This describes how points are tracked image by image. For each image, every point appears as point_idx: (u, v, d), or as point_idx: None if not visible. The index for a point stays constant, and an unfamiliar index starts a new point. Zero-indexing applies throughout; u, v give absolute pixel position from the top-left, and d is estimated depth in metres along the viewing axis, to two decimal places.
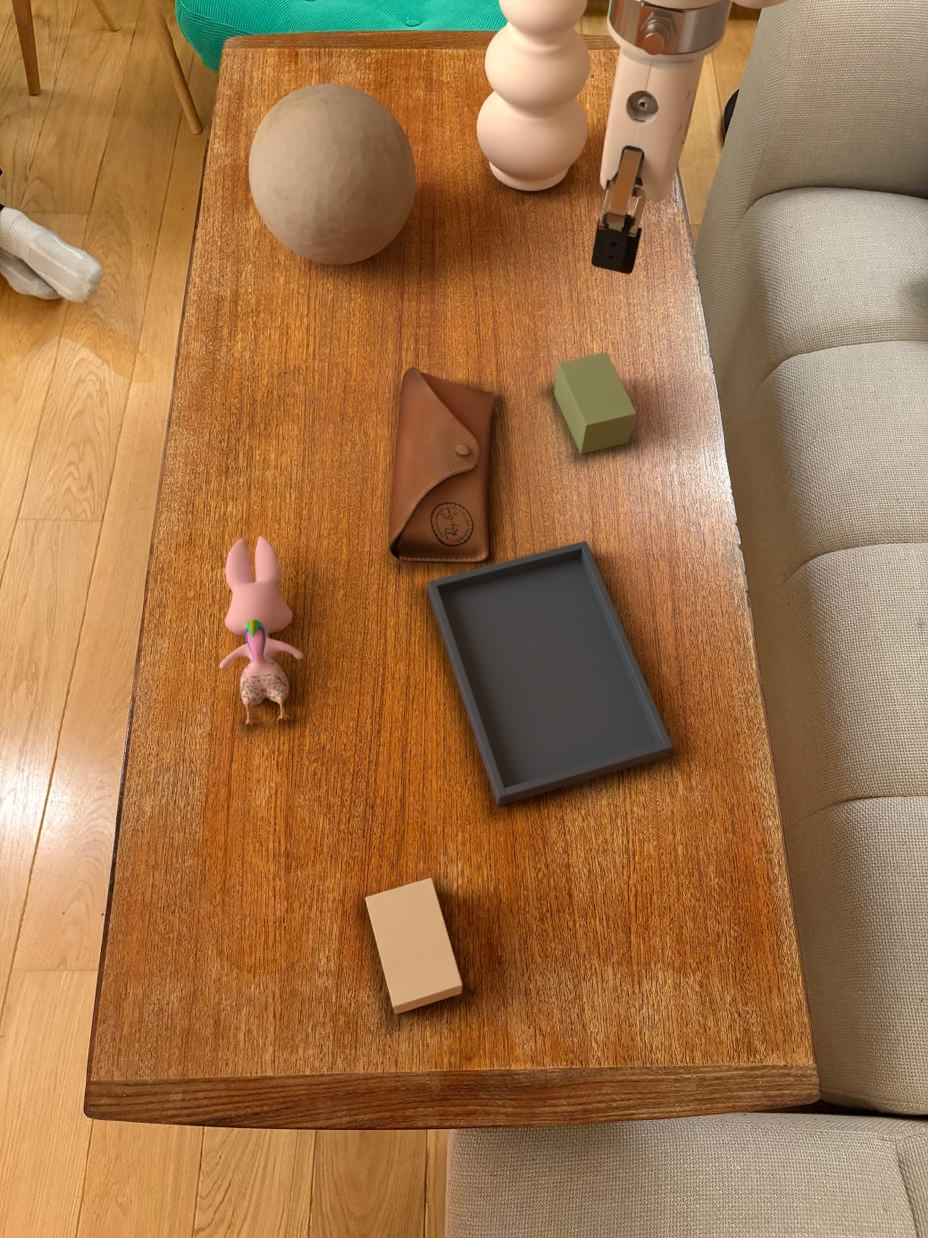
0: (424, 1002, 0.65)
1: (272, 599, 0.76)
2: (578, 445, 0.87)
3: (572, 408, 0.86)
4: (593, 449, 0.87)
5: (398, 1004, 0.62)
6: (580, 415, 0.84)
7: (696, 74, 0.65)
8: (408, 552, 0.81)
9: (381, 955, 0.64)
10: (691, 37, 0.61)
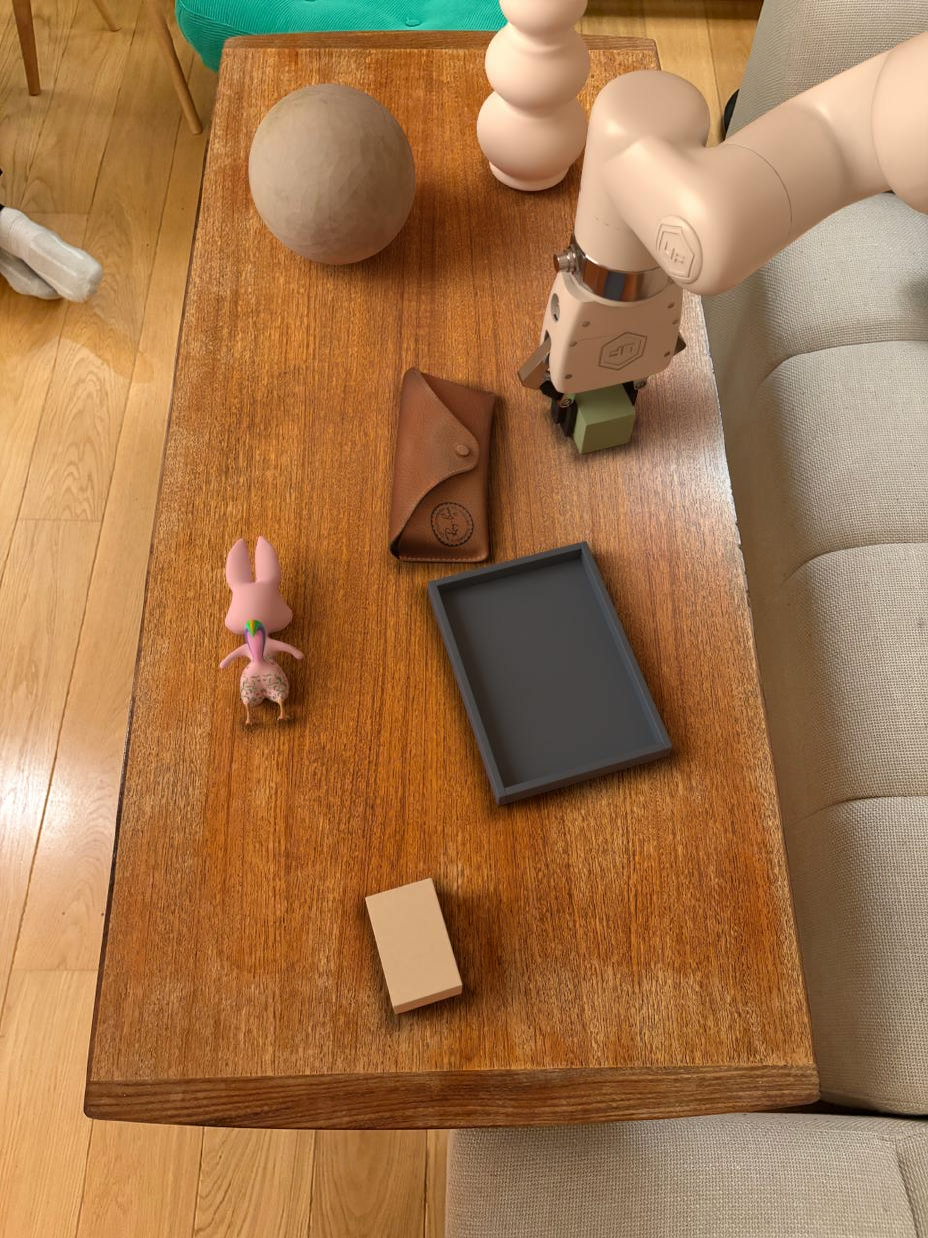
0: (424, 1002, 0.65)
1: (272, 599, 0.76)
2: (578, 445, 0.87)
3: None
4: (593, 449, 0.87)
5: (398, 1004, 0.62)
6: (580, 415, 0.84)
7: (607, 317, 0.74)
8: (408, 552, 0.81)
9: (381, 955, 0.64)
10: (591, 281, 0.71)
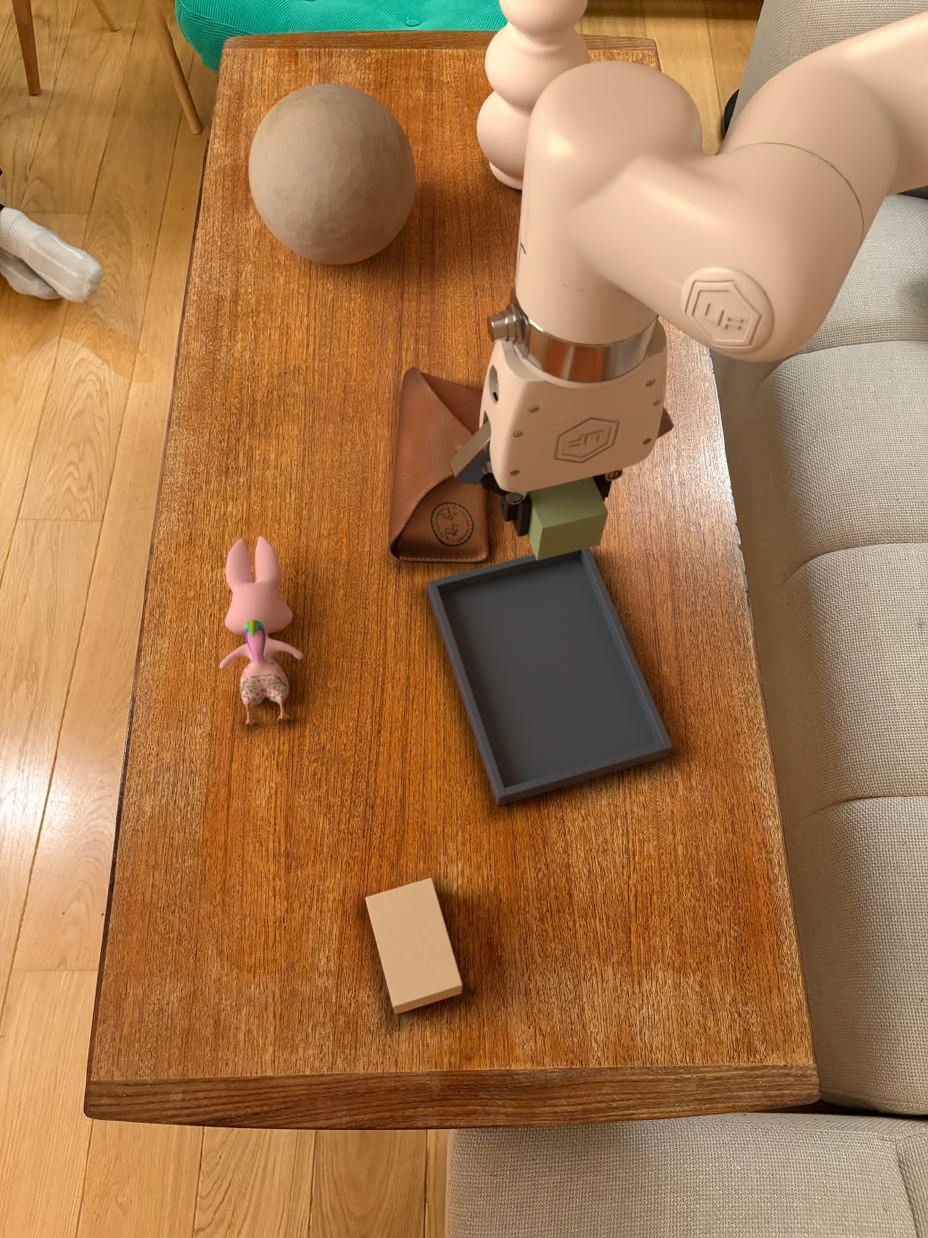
0: (424, 1002, 0.65)
1: (272, 599, 0.76)
2: (533, 549, 0.67)
3: None
4: (553, 554, 0.67)
5: (398, 1004, 0.62)
6: (535, 514, 0.64)
7: (563, 400, 0.54)
8: (408, 552, 0.81)
9: (381, 955, 0.64)
10: (539, 355, 0.51)
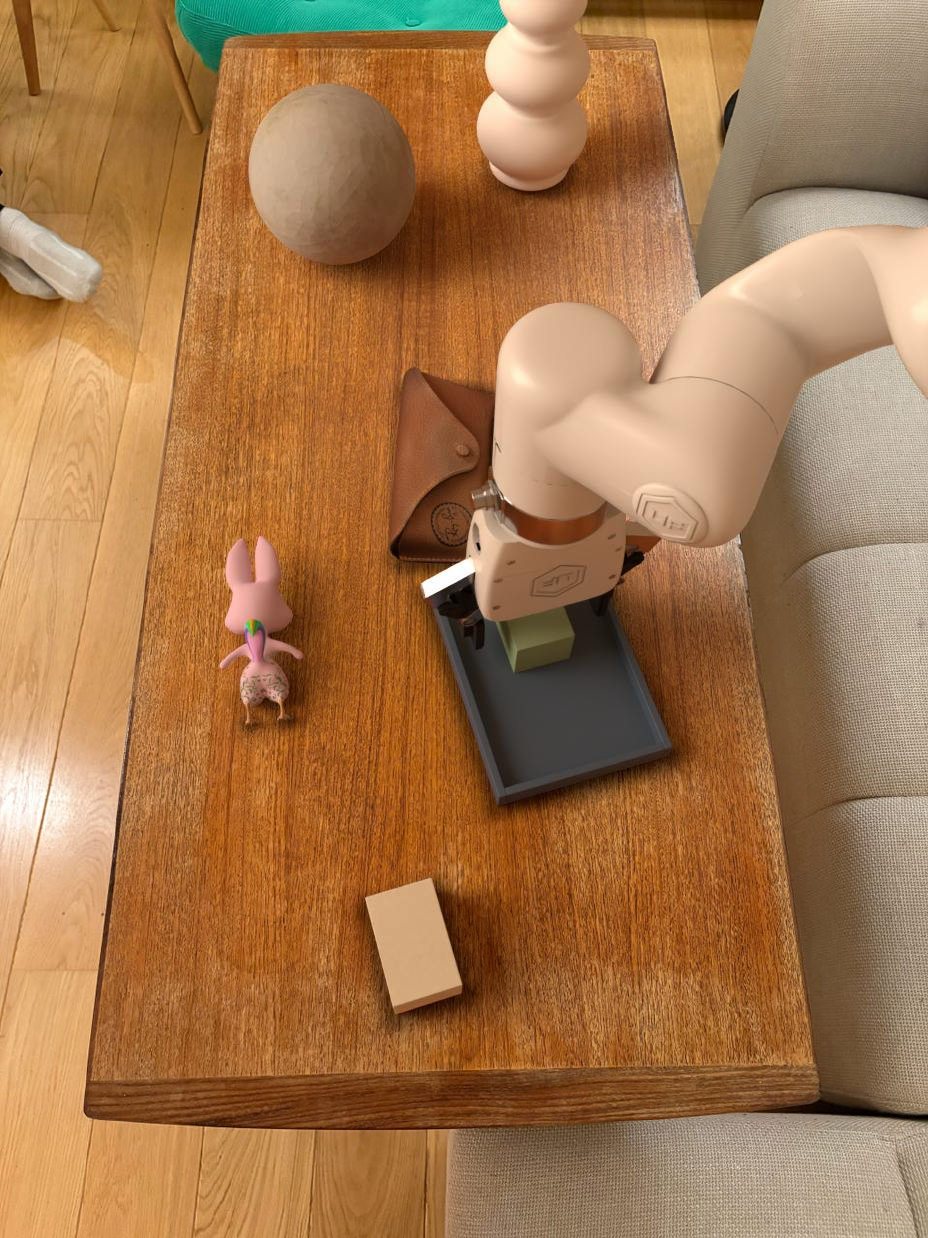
0: (424, 1002, 0.65)
1: (272, 599, 0.76)
2: (511, 663, 0.77)
3: (503, 625, 0.76)
4: (528, 668, 0.77)
5: (398, 1004, 0.62)
6: (511, 637, 0.74)
7: (536, 554, 0.63)
8: (408, 552, 0.81)
9: (381, 955, 0.64)
10: (513, 523, 0.60)
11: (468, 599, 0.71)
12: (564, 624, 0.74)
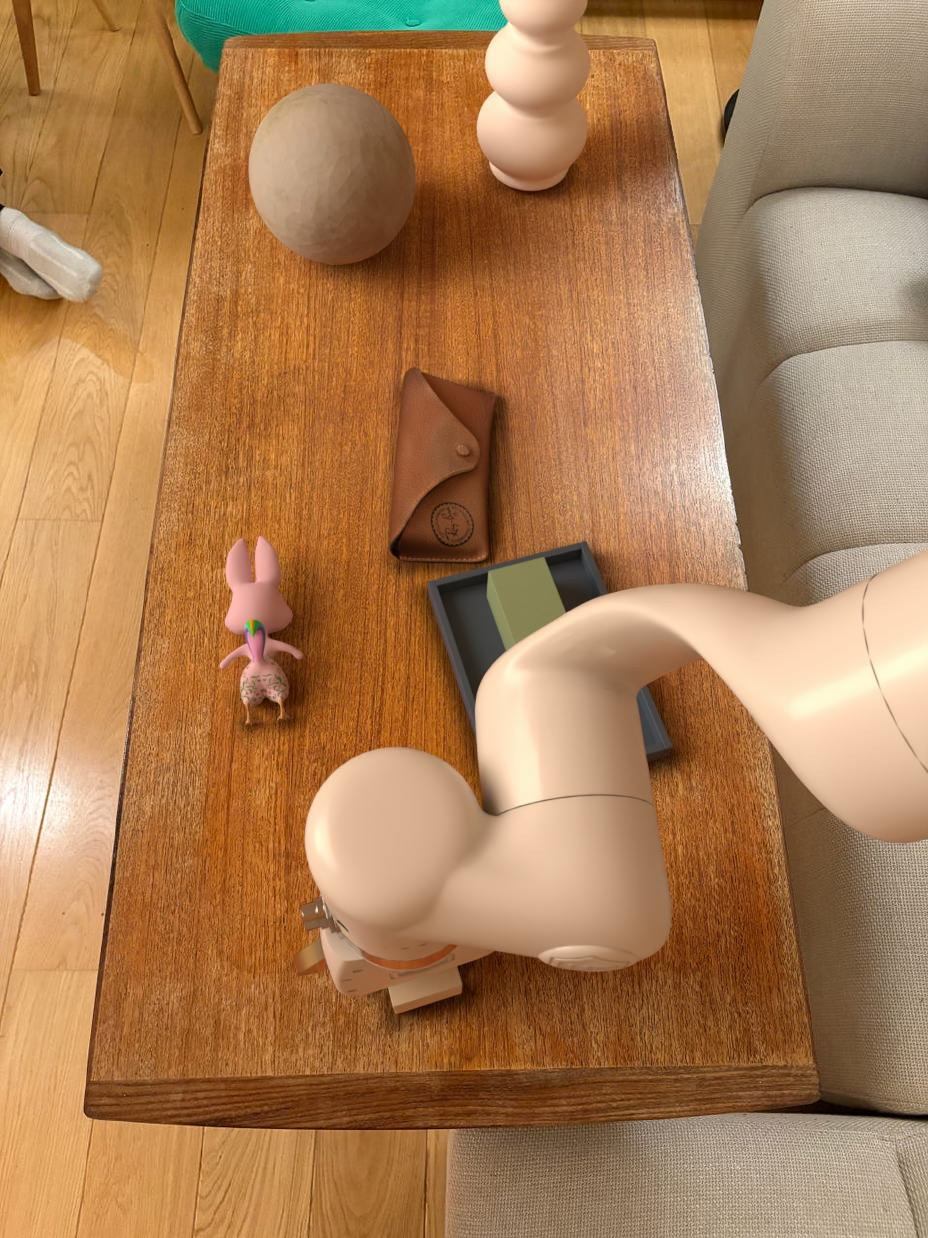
0: (424, 1002, 0.65)
1: (272, 599, 0.76)
2: None
3: (503, 625, 0.76)
4: None
5: (398, 1004, 0.62)
6: (511, 637, 0.74)
7: None
8: (408, 552, 0.81)
9: None
10: (353, 947, 0.50)
11: None
12: None
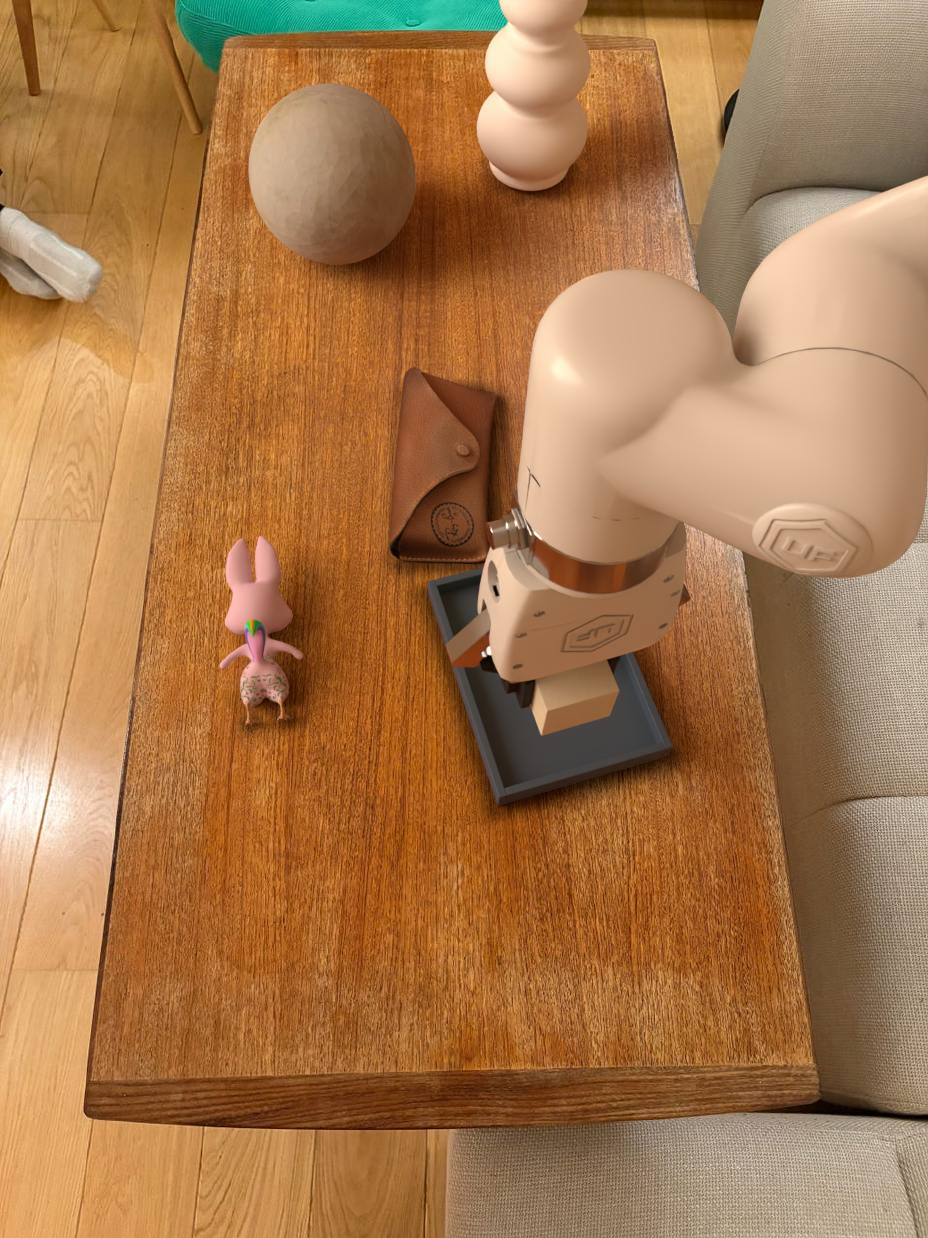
0: (574, 718, 0.60)
1: (272, 599, 0.76)
2: None
3: None
4: None
5: (552, 708, 0.58)
6: None
7: (571, 604, 0.48)
8: (408, 552, 0.81)
9: None
10: (544, 565, 0.45)
11: None
12: None
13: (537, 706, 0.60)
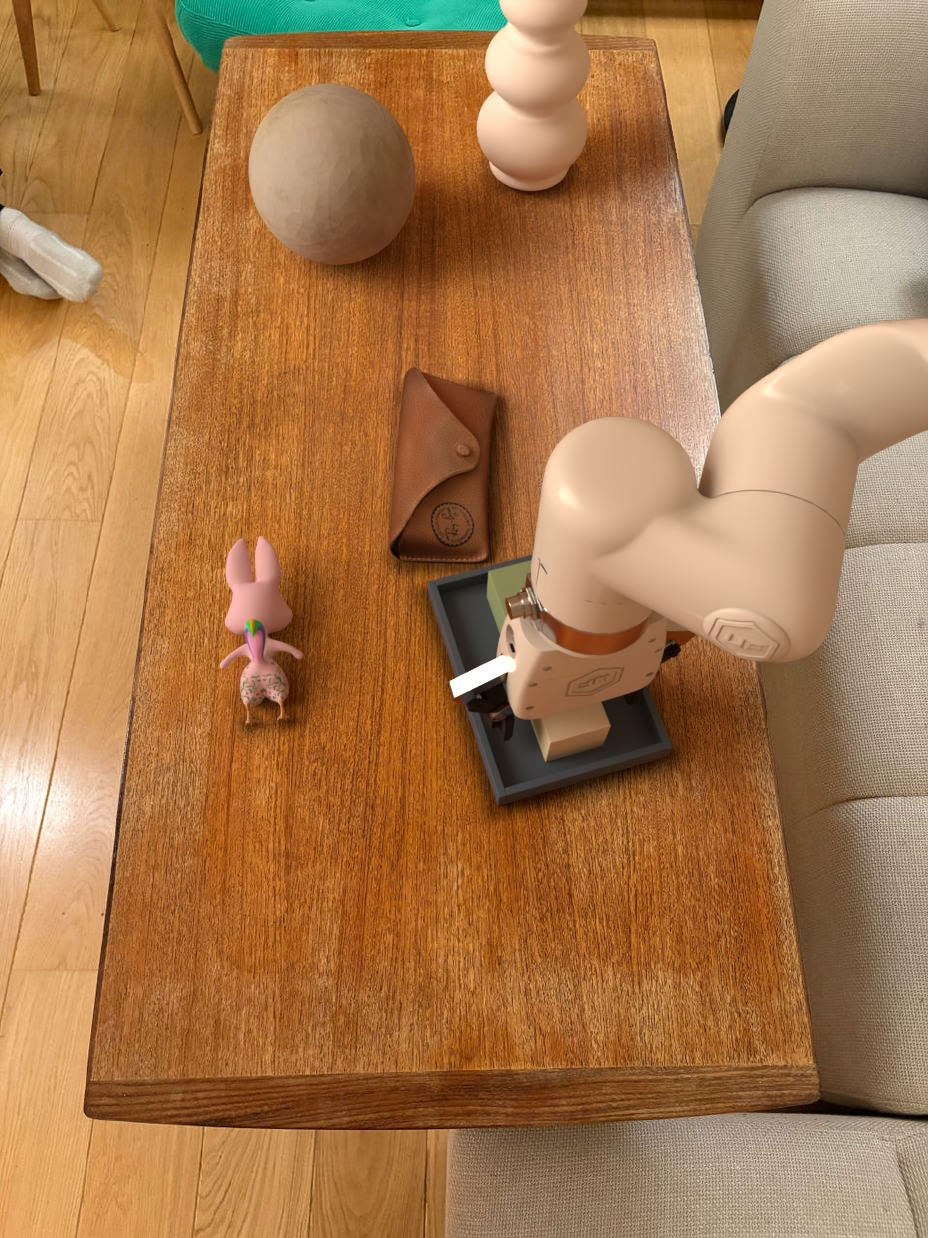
0: (573, 748, 0.72)
1: (272, 599, 0.76)
2: None
3: None
4: None
5: (554, 741, 0.70)
6: None
7: (574, 661, 0.60)
8: (408, 552, 0.81)
9: None
10: (552, 633, 0.57)
11: (498, 693, 0.69)
12: None
13: (542, 738, 0.72)
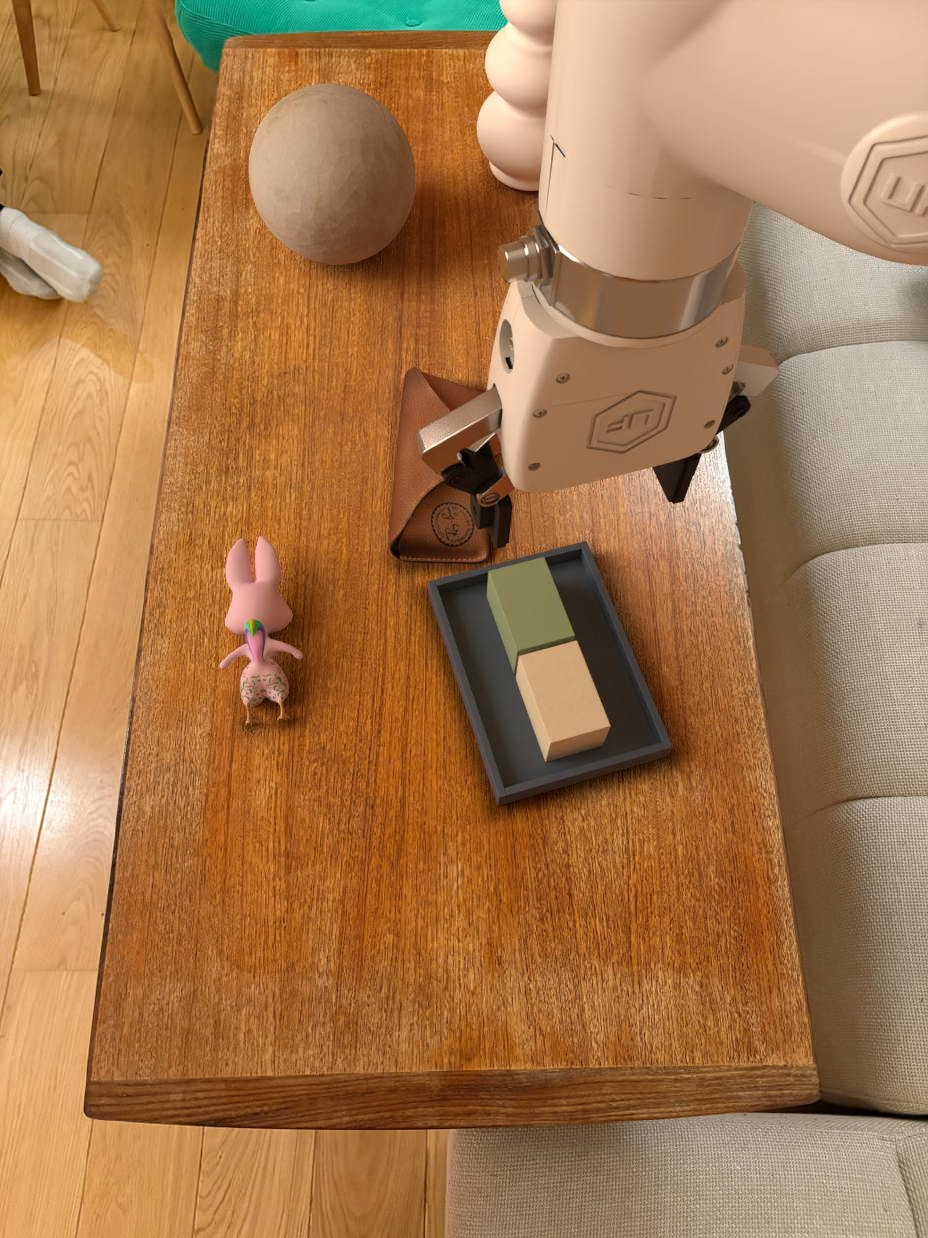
0: (573, 748, 0.72)
1: (272, 599, 0.76)
2: (511, 663, 0.77)
3: (503, 625, 0.76)
4: None
5: (554, 741, 0.70)
6: (511, 637, 0.74)
7: (603, 365, 0.39)
8: (408, 552, 0.81)
9: (536, 702, 0.71)
10: (572, 299, 0.36)
11: (488, 465, 0.48)
12: (564, 624, 0.74)
13: (542, 738, 0.72)
